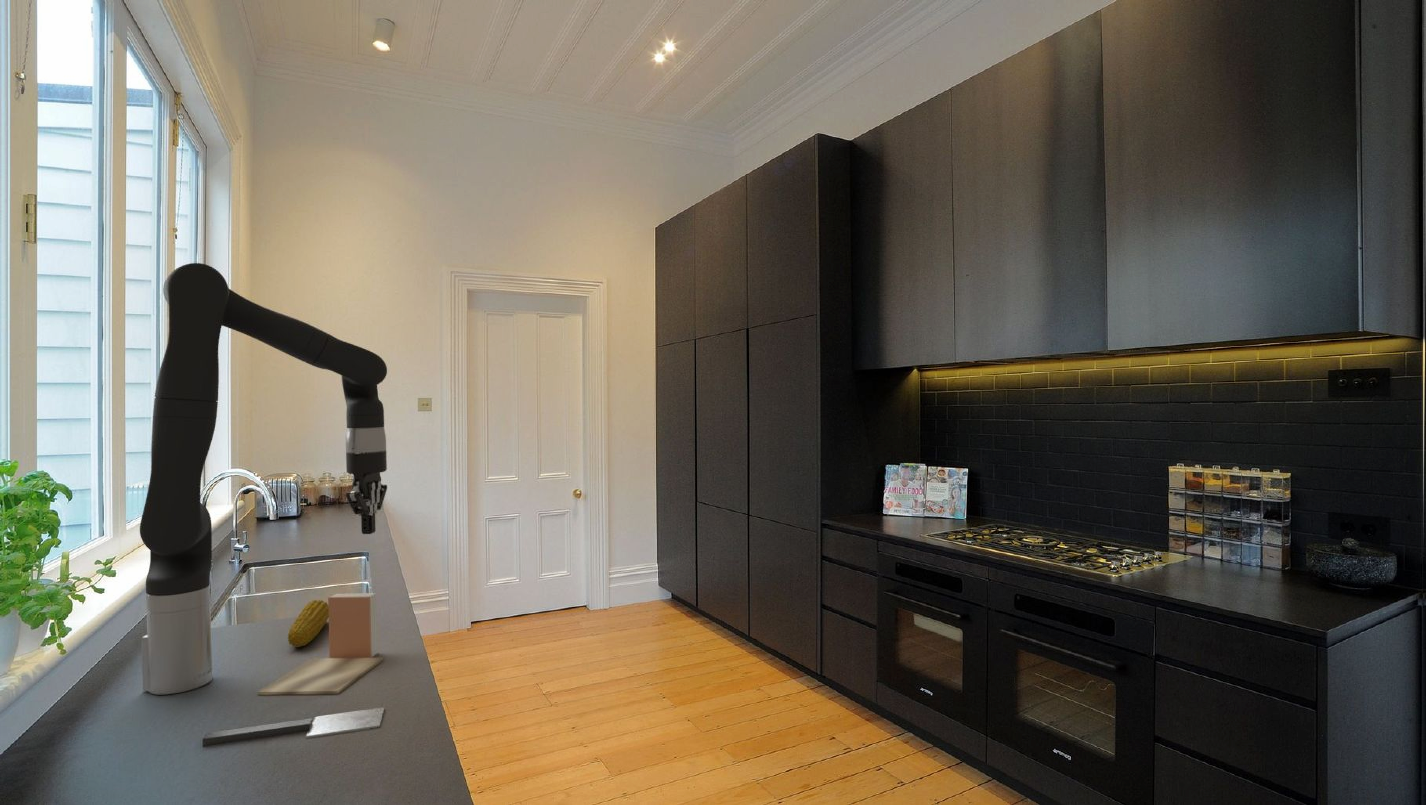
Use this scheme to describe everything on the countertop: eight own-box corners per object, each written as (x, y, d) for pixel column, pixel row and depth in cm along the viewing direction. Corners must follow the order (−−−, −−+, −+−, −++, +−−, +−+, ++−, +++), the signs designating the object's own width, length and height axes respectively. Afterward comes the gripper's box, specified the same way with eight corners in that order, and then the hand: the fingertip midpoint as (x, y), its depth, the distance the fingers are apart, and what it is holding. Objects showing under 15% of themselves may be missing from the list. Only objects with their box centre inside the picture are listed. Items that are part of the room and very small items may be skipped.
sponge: (329, 658, 143) (328, 597, 142) (338, 653, 146) (336, 593, 145) (370, 658, 142) (368, 597, 142) (377, 653, 145) (376, 593, 145)
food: (304, 624, 166) (304, 598, 166) (332, 621, 168) (331, 595, 168) (283, 654, 146) (282, 624, 146) (314, 650, 148) (314, 621, 148)
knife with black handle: (196, 754, 105) (196, 746, 105) (213, 733, 111) (212, 725, 111) (379, 727, 112) (379, 719, 112) (384, 709, 119) (384, 701, 119)
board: (257, 694, 126) (257, 691, 126) (311, 660, 142) (311, 658, 142) (337, 693, 125) (337, 690, 125) (382, 659, 141) (382, 657, 141)
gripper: (364, 447, 157) (366, 527, 158) (330, 452, 144) (333, 540, 144) (398, 447, 157) (401, 527, 157) (368, 451, 144) (370, 539, 144)
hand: (368, 533), depth 151 cm, fingers closed
